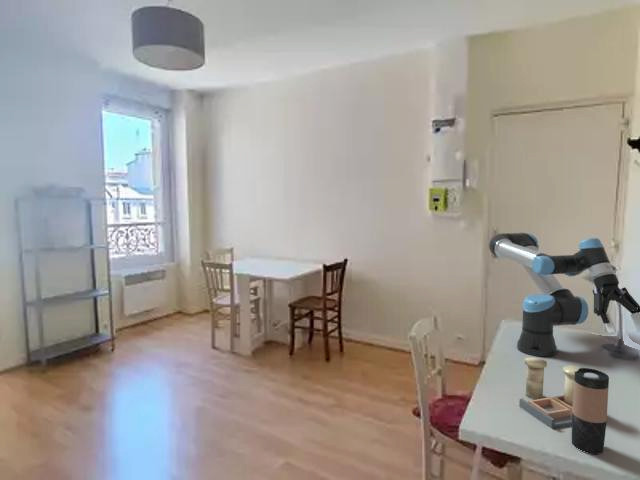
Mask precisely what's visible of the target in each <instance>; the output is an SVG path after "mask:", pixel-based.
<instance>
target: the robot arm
mask: <svg viewBox="0 0 640 480" xmlns="http://www.w3.org/2000/svg"><path fill="white" fill-rule="evenodd" d="M539 247H540V246H539V241H538V239H537V237H536V236H535V235H534V234H532V233H529V232H515V233H513V232H511V233H509V232H508V233H506V232H504V233H503V232H502V233H498V234H496V235H494V236H492V237H491V239H490V240H489V243H488V249H489V252H490V253H491V254H492V255H493V256H494V257H498V258H499V259H508V260H510V261H513V262H515V263H517V264H521V266H522V267H523V269H524V270H525V271H526V272H527V274H528V276H529V277H530V278H531V279H532V281H533V282H534V284H535V286H536V287H537V288H538V289H539V291H540V293H541V294H530V295H528V296H525V298H524V300H523V303H522V325H521V332H520V335H519V339H518V340H517V343H516V348H517V350H518V351H520V352H521V353H524V354H527V355H531V356H535V357H545V358H546V357H554V356H555V355H557V353H558V351H557V350H558V346H557V345H556V339H555V338H554V327H556V326H575V325H580V324H583V323H584V322H585V321H586V320H587V319H588V317H589V305H588V302H587V301H586V299H585V298H584V297H581V296H579V295H574V294H573V292H572V291H571V290H570V289H568V288H564V287H563V286H562V284H561V283H560V282H559V280H558V279H557V278H556V277H555V275H561V274H562V275H565V276H568V277H576V276H577V275H580V274H582V273H583V272H585V271H586V270H588V271H589V274H590V277H591V279H593V284H594V286H595V288H594V289H592V294H593V313H594V314H596V316H597V317H600V318H601V320H602V323H603V324H604V326H605V328H606V332H607V333H608V334H612V333H615V332H617V329H616V327H615V325H614V321H613V319H612V317H611V314H610V313H608V309H609V305H610V301H613V302H614V301H615V302H616V303H619V304H620V305H621V306H622V307H623V308H625V309H626V310H627V312H629V313H631V314H630V317H631V320H632V321H633V324H634V326H635V329H636V331H637V333H640V305H639V303H638V302H637V301H636V300H635V299H634V297H633V296H632V295H631V293H630V292H629V291H628V289H627V288H626V287H622V288H620V287H619V284H620V281H619V279H618V277H617V275H616V274H615V271H614V268H613V267H612V264H611V262H610V259H609V256H608V254H607V253H606V249H605V247H604V245H603V244H602V241H601V239H599V238H598V237H590V238H587V239H586V238H585V239H584V240H582V241H580V242H579V244H578V247H579V250H578V251H577V252H575V253H573V254H571V255H570V254H566V255H565V254H564V255H563V254H562V255H550V254H547V253H544V252H542V251H541V252H540V251H539Z"/></svg>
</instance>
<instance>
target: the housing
mask: <svg viewBox="0 0 640 480" xmlns="http://www.w3.org/2000/svg"><path fill="white" fill-rule="evenodd" d="M580 368H581V367H579V366H575V365H565V366H563V367H562V373H563V374H564V389H563V390H564V391H563V392H564V393H563V395H557V396H552V398H551V397H543V398H542V399H537V400H535V399H532V400H528V401H527V400H525V399H524V398H519V402H518V404H519V406H518V407H520V408H521V409H522V410H523V411H525V412H526V413H529V414H530V415H531V416H533V417H534V418H536V419H537V420H538V421H540V422H541V423H543V424H545V425H546V426H547V427H549V428H550V429H557V428H562V427H563V428H564V427H568V426H572V407H573V392H574V378H575V371H578V370H579V369H580Z"/></svg>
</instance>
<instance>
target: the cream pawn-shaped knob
mask: <svg viewBox="0 0 640 480" xmlns="http://www.w3.org/2000/svg"><path fill="white" fill-rule="evenodd" d="M524 364H525V365H526V381H525V396H526V397H527V398H529V399H532V400H537V399H544V397H543V396H544V382H545V381H544V380H545V379H544V378H545V377H544V376H545V368H546V367H547V365H548V362H547V361H546V360H544V359H542V358H540V357H539V358H538V357H526V358H524Z"/></svg>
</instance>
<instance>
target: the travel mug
mask: <svg viewBox="0 0 640 480" xmlns="http://www.w3.org/2000/svg"><path fill="white" fill-rule="evenodd" d="M609 384H610V376H609V375H608V374H607V373H605V372H603V371H601V370H598V369H595V368H589V367H588V368H587V367H580V369H579V370H578V371H575V378H574V392H573V407H572V425H571V445H572V446H573V445H574V446H575V447H576V448H575V447H574V446H573V447H574V448H575V449H577V448H578V449H580V450H582V451H581V452H583V451H585V452H588V453H587V454H589V453H593V454H592V455H599V454H598V453H601V454H602V453H604V447H605V439H606V430H607V429H606V428H607V422H608V421H607V419H608V407H609V406H608V401H609V387H610V386H609ZM578 449H577V450H578ZM580 450H579V451H580ZM585 452H584V453H585Z"/></svg>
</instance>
